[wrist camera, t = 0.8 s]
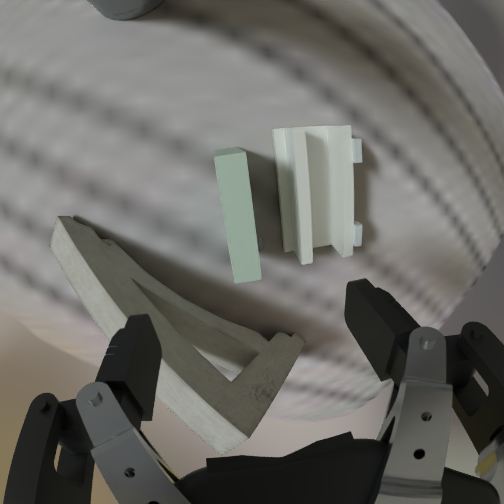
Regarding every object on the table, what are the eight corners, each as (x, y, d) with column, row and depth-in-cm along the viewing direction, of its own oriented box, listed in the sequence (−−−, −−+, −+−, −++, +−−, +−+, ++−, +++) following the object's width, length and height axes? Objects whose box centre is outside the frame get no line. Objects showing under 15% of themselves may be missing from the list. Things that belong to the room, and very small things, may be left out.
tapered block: (214, 150, 27) (213, 156, 19) (244, 145, 27) (256, 150, 20) (229, 245, 32) (234, 283, 24) (257, 241, 32) (270, 277, 24)
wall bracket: (169, 219, 46) (305, 341, 38) (158, 239, 47) (287, 360, 40) (57, 215, 25) (249, 438, 18) (49, 245, 26) (221, 455, 19)
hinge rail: (271, 129, 27) (282, 128, 22) (340, 125, 27) (362, 125, 23) (283, 248, 33) (294, 268, 28) (344, 238, 33) (362, 255, 29)
